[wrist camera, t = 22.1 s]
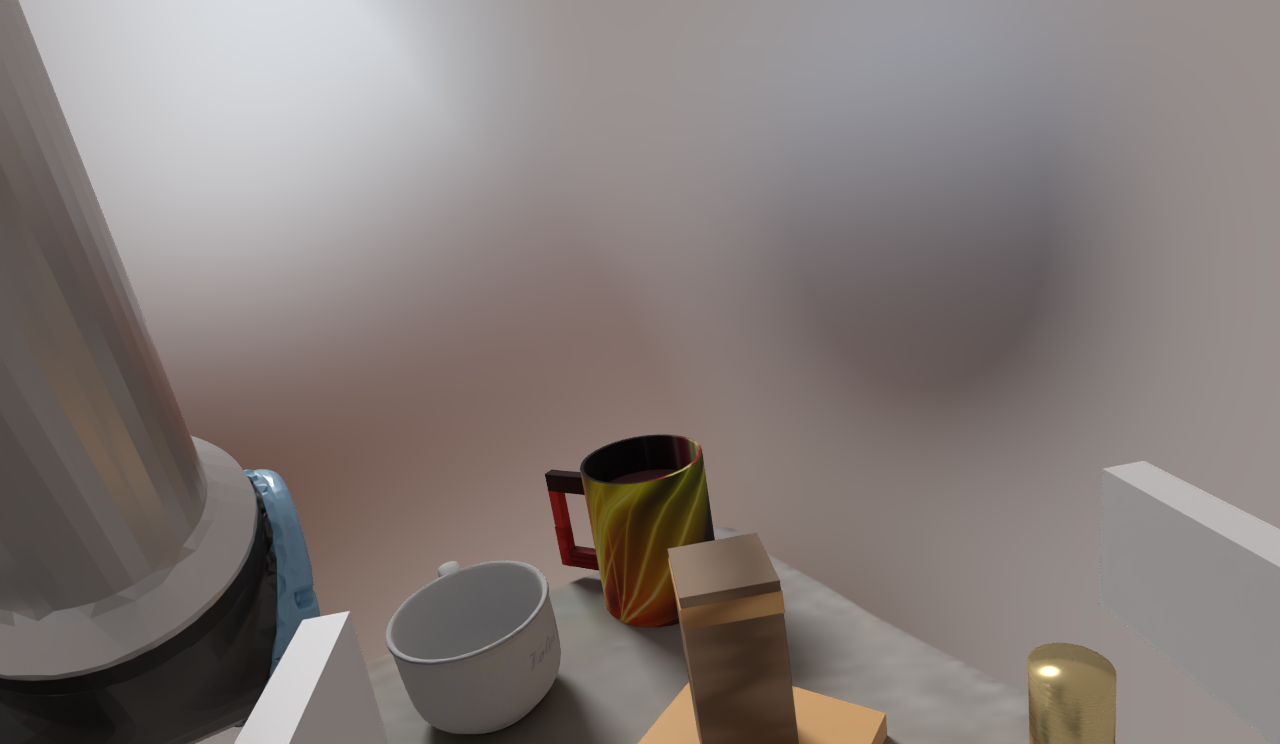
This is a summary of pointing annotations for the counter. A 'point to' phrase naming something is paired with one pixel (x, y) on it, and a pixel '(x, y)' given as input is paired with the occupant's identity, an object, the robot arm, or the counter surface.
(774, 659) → the link block
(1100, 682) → the sprocket
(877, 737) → the light orange square slab
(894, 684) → the counter surface
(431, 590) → the teacup
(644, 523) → the mug
